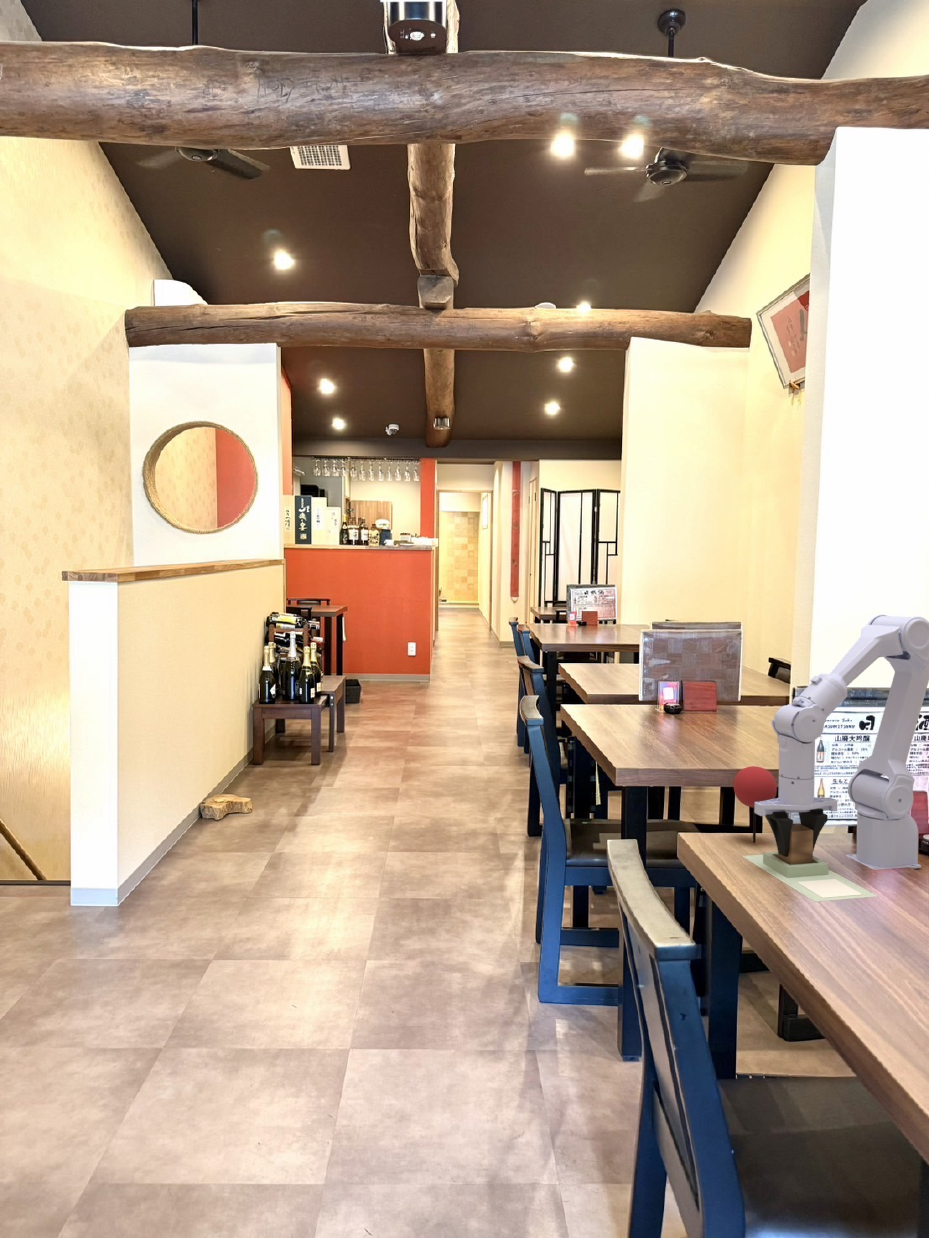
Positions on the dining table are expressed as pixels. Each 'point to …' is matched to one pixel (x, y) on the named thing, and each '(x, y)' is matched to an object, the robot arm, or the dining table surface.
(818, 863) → the pocket board
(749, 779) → the lollipop
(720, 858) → the dining table surface
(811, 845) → the walnut post
